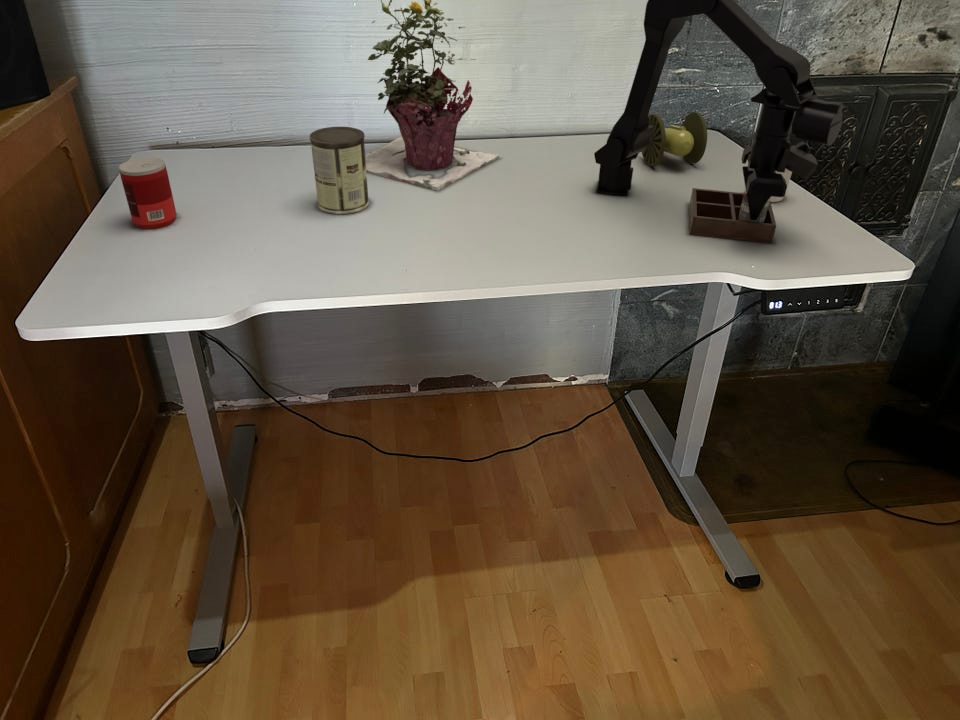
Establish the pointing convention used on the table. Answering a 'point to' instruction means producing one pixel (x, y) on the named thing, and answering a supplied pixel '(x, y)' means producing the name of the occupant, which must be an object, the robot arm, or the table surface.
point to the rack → (726, 217)
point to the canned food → (148, 192)
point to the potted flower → (422, 109)
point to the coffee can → (340, 169)
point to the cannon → (677, 139)
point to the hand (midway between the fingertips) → (752, 214)
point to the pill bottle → (745, 214)
